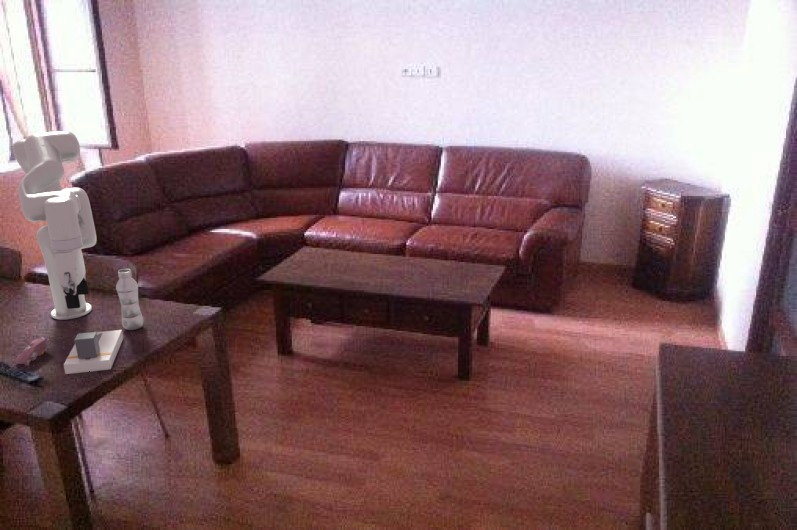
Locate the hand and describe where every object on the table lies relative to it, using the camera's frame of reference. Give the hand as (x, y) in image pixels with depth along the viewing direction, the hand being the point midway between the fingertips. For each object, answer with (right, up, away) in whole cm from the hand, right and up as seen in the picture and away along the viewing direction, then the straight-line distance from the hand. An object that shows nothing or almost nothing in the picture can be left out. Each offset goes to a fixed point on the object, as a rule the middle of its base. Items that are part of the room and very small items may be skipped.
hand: (78, 300), depth 179 cm
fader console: (-1, -17, +12) cm, 21 cm away
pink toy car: (-19, -18, +12) cm, 28 cm away
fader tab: (0, -16, +6) cm, 17 cm away
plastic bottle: (+3, -11, +30) cm, 32 cm away
